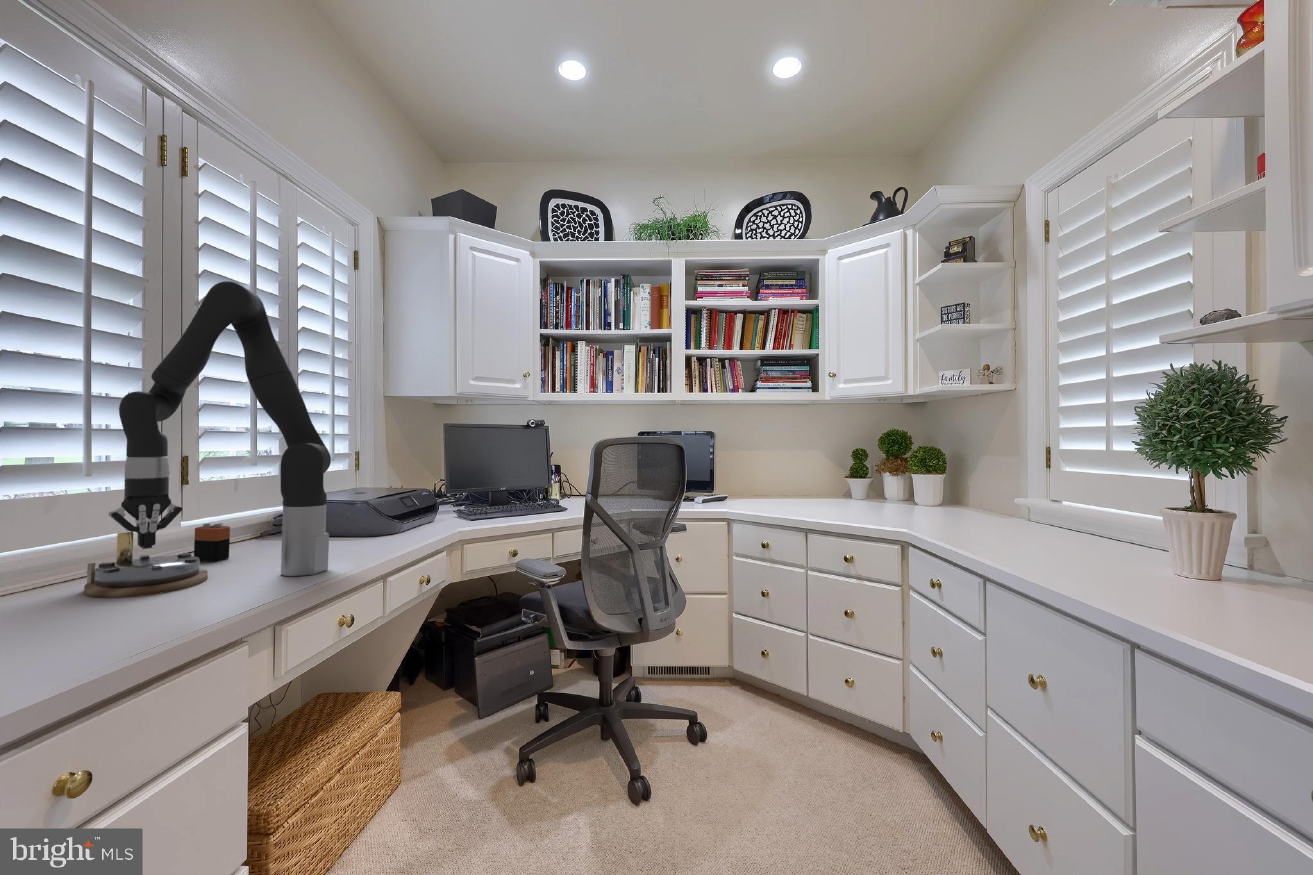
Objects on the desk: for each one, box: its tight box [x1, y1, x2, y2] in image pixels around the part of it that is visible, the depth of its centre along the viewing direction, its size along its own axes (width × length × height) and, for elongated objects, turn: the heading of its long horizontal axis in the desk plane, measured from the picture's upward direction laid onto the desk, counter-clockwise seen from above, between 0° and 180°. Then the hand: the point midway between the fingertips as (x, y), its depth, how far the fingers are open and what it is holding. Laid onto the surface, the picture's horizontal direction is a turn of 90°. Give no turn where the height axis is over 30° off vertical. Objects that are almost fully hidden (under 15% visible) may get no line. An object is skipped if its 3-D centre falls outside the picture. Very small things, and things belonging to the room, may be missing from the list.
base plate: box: [83, 562, 209, 599], centre depth 118 cm, size 20×20×6 cm
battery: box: [193, 522, 231, 563], centre depth 142 cm, size 4×7×10 cm, turn 85°
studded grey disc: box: [95, 531, 201, 587], centre depth 118 cm, size 17×17×10 cm
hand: (146, 548), depth 123 cm, fingers closed
